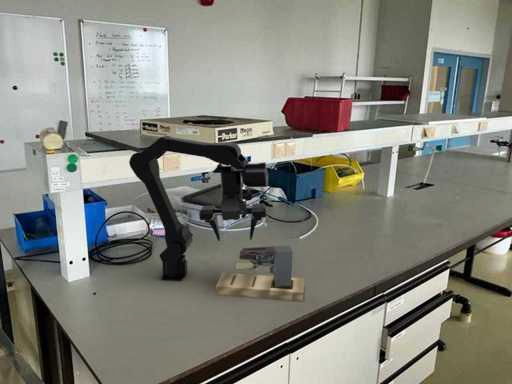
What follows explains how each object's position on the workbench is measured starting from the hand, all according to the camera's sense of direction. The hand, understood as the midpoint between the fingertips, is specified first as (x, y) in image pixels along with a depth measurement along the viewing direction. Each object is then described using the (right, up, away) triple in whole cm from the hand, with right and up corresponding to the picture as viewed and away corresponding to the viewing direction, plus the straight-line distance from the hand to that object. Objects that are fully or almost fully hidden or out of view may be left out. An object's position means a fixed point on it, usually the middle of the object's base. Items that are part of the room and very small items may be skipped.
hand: (235, 240), depth 124 cm
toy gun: (+9, -10, +17) cm, 21 cm away
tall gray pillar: (+13, -14, -3) cm, 20 cm away
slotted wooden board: (+7, -14, -2) cm, 16 cm away
